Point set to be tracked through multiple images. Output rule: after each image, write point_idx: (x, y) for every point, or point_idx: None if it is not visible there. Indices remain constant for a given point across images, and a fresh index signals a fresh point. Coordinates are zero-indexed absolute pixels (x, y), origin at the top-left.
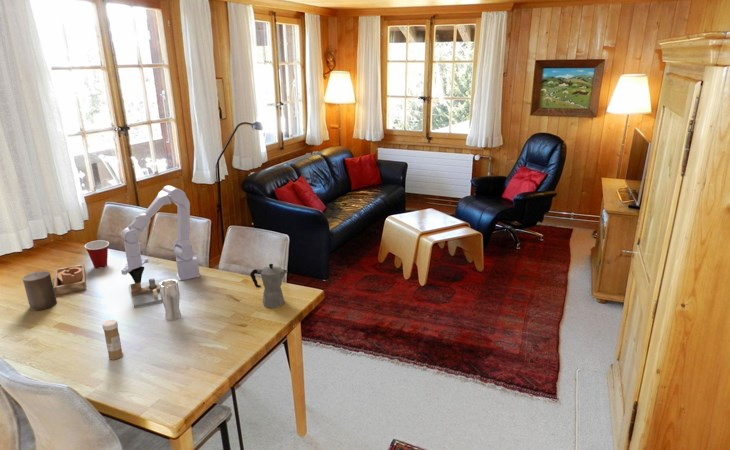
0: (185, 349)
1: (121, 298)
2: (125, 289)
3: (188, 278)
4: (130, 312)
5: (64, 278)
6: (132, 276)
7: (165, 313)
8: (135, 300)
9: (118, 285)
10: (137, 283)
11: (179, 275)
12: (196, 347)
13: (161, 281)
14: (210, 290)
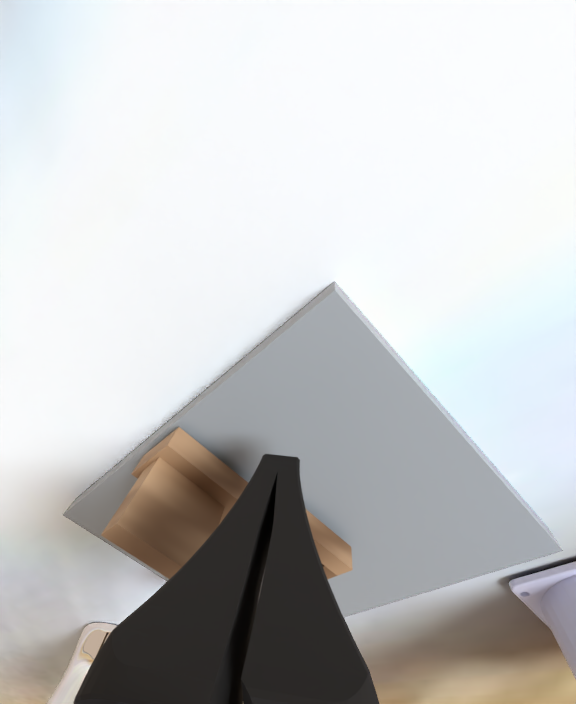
0: (10, 681)
1: (126, 353)
2: (290, 265)
3: (540, 617)
4: (34, 502)
5: None
6: (216, 545)
7: (75, 655)
8: (113, 497)
9: (385, 63)
10: (166, 569)
11: (571, 606)
12: (33, 693)
13: (461, 522)
14: (377, 688)
